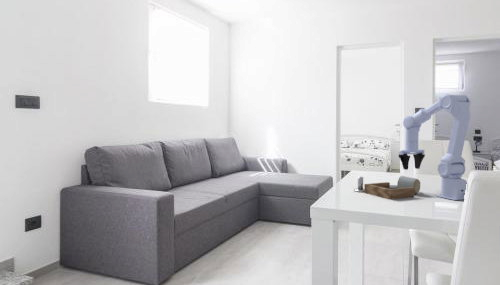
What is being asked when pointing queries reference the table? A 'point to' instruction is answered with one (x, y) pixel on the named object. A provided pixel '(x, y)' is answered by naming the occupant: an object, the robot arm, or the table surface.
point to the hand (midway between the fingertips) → (411, 169)
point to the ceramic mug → (409, 183)
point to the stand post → (360, 185)
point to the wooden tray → (388, 191)
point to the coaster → (393, 186)
